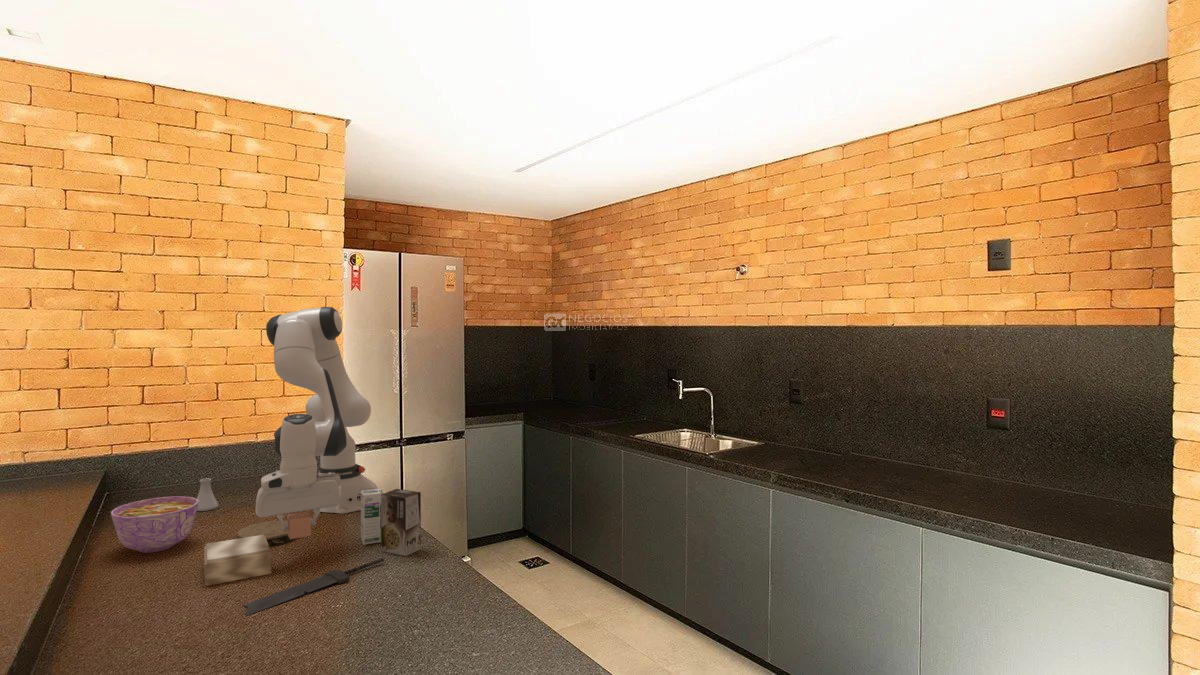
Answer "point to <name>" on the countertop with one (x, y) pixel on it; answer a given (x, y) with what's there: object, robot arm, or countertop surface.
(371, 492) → the syrup box
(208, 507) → the flask
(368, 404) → the robot arm
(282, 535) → the brown flat disc
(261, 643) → the countertop surface
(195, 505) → the bowl of food
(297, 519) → the terracotta cube
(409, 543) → the brown printed carton
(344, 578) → the flat dark sword
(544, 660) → the countertop surface
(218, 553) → the cream square block
